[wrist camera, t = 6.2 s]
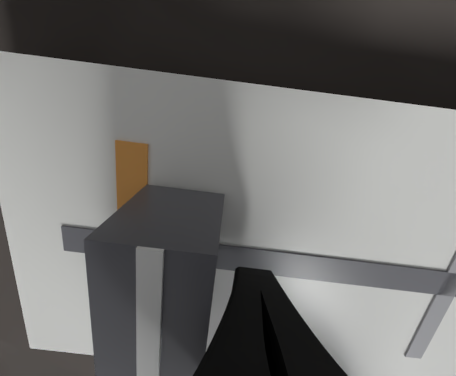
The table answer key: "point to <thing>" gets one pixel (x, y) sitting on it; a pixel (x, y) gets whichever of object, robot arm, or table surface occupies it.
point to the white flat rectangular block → (240, 200)
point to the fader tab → (153, 282)
